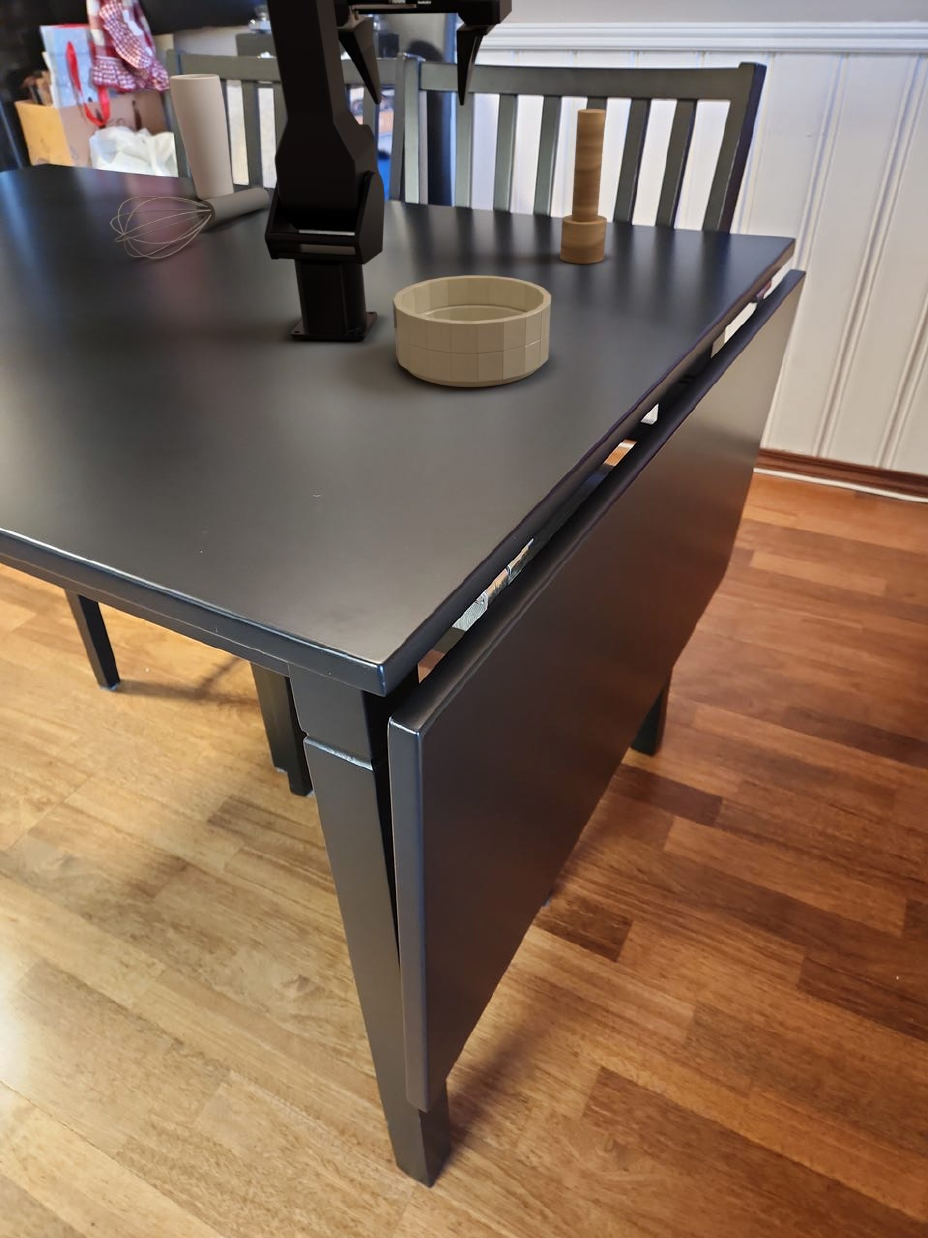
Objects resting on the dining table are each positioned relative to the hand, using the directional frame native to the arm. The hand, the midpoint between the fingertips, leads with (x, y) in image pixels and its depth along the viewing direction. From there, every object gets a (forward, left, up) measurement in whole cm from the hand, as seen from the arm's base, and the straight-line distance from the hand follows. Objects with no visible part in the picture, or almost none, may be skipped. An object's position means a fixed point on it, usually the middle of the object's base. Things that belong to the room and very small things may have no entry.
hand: (420, 103), depth 86 cm
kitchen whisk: (+8, +29, -15) cm, 34 cm away
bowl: (-34, -9, -14) cm, 38 cm away
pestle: (-2, -18, -14) cm, 23 cm away
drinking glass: (+29, +35, -15) cm, 48 cm away
